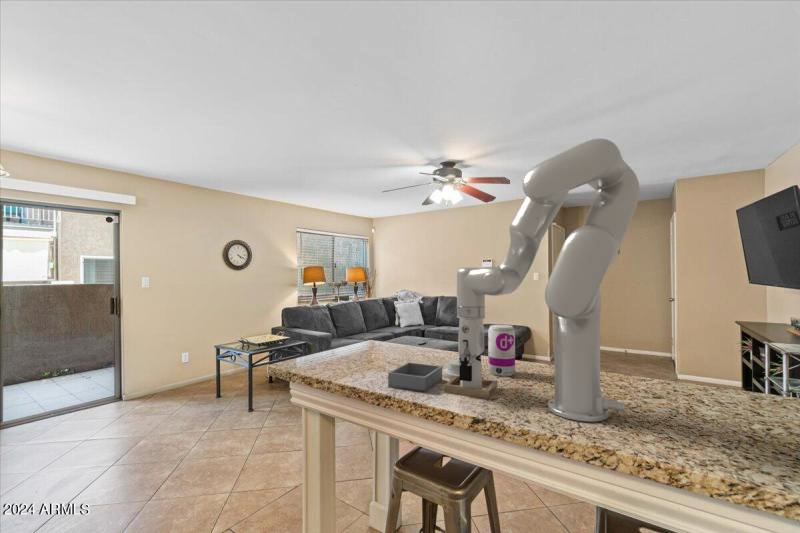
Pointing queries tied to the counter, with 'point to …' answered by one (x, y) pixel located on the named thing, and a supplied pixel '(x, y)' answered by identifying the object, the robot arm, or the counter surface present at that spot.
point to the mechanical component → (452, 369)
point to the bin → (415, 377)
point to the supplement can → (501, 350)
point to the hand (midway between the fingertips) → (470, 375)
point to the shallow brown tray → (472, 392)
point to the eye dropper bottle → (474, 375)
